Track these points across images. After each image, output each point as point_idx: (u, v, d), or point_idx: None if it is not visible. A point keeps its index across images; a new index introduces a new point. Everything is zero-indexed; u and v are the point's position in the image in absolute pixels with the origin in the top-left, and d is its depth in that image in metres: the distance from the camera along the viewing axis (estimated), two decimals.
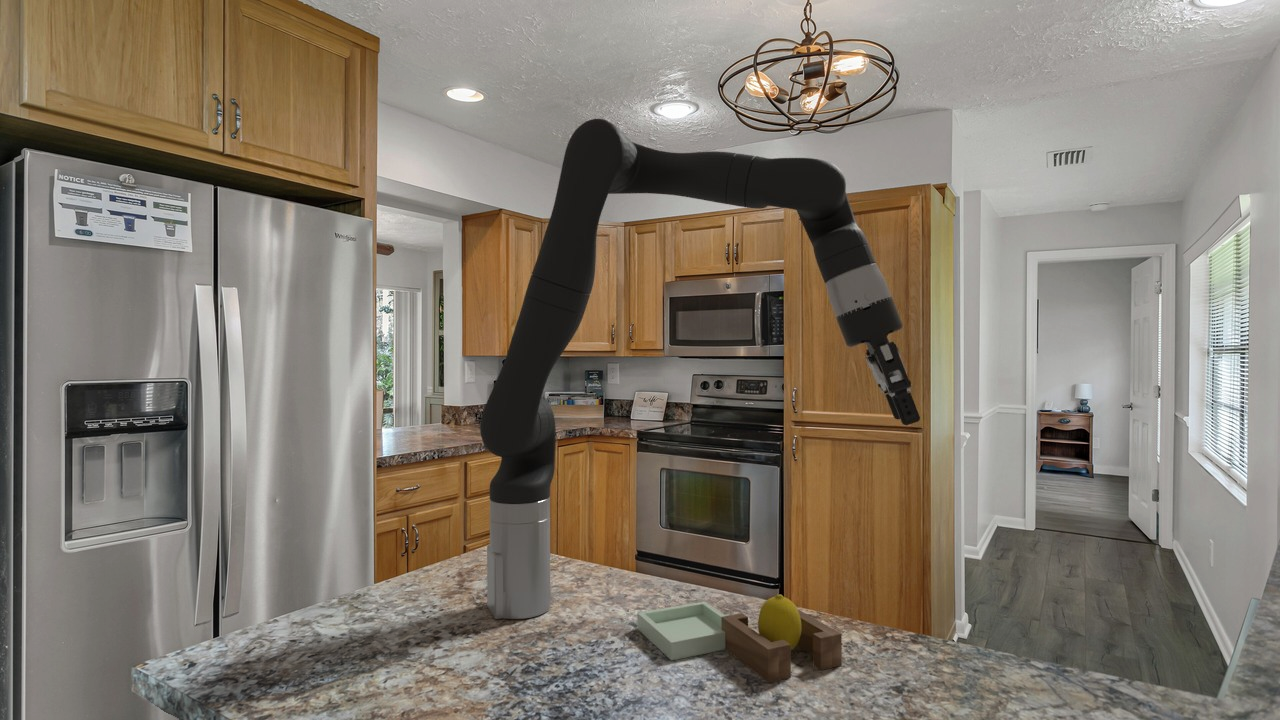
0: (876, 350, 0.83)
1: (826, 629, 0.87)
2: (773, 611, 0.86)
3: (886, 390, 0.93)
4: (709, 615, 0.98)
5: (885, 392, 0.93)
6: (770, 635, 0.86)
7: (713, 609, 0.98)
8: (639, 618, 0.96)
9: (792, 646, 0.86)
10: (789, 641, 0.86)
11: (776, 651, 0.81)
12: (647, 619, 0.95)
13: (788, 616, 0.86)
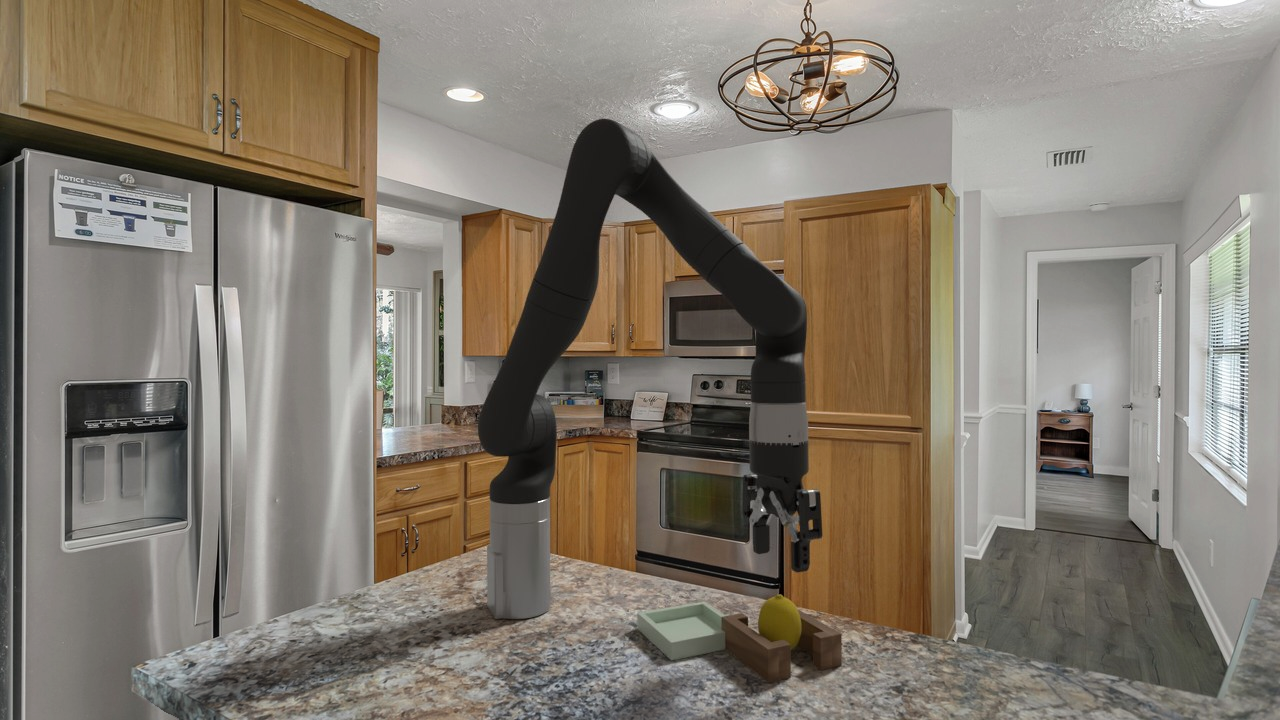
0: (805, 494, 0.81)
1: (826, 629, 0.87)
2: (773, 611, 0.86)
3: (757, 522, 0.91)
4: (709, 615, 0.98)
5: (755, 524, 0.92)
6: (770, 635, 0.86)
7: (713, 609, 0.98)
8: (639, 618, 0.96)
9: (792, 646, 0.86)
10: (789, 641, 0.86)
11: (776, 651, 0.81)
12: (647, 619, 0.95)
13: (788, 616, 0.86)
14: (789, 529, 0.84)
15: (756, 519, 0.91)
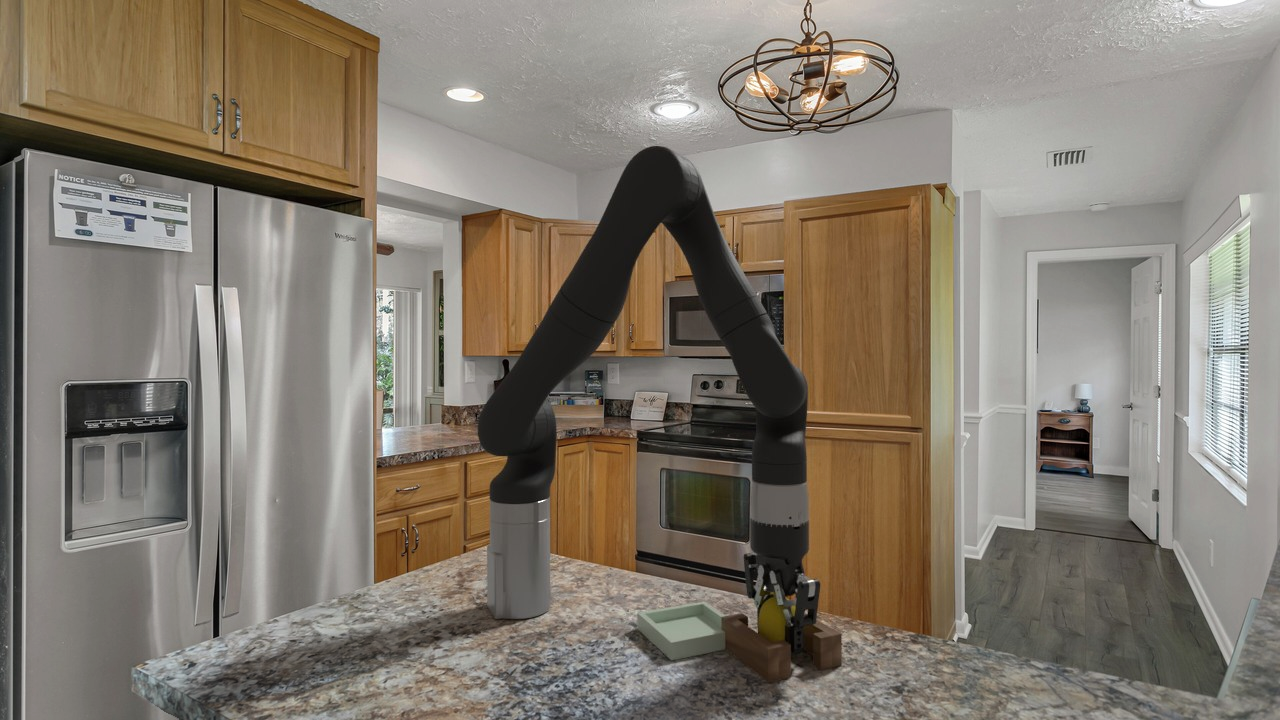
0: (805, 586, 0.82)
1: (826, 629, 0.87)
2: (773, 611, 0.86)
3: (761, 605, 0.91)
4: (709, 615, 0.98)
5: (759, 606, 0.91)
6: (770, 635, 0.86)
7: (713, 609, 0.98)
8: (639, 618, 0.96)
9: None
10: None
11: (776, 651, 0.81)
12: (647, 619, 0.95)
13: None
14: (784, 612, 0.85)
15: (760, 600, 0.90)
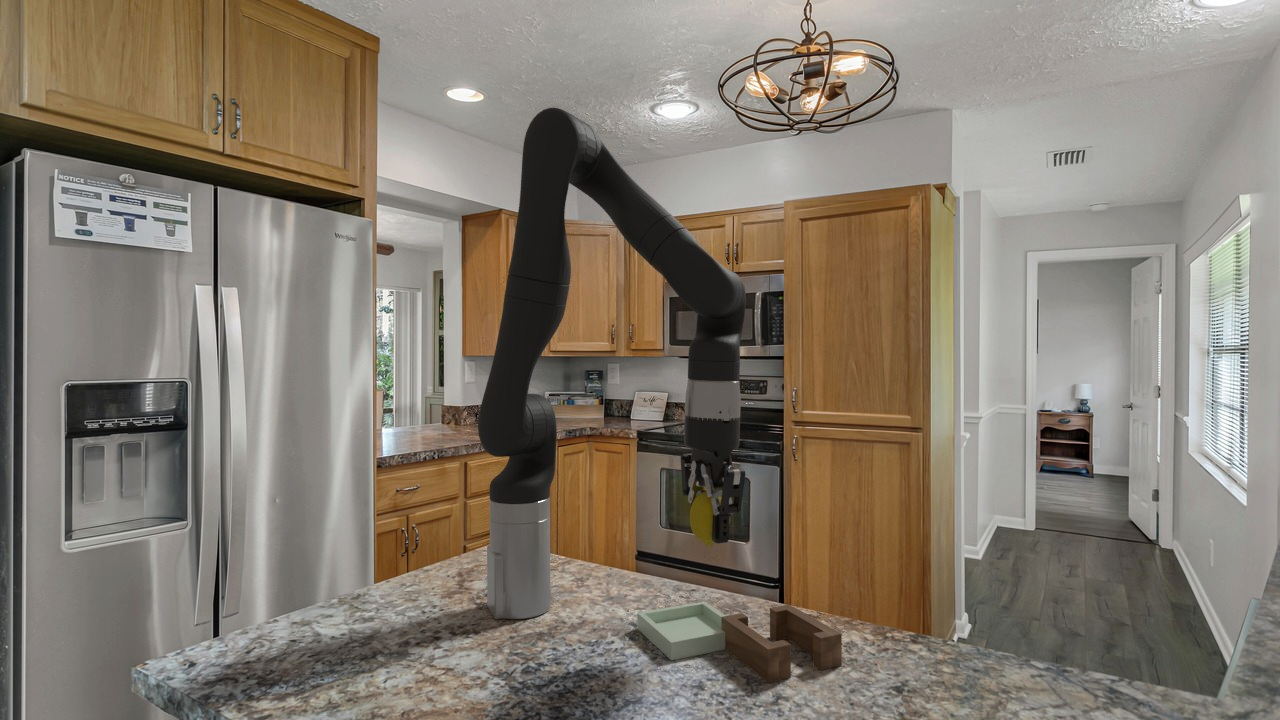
0: (730, 474, 0.86)
1: (826, 629, 0.87)
2: (703, 502, 0.91)
3: None
4: (709, 615, 0.98)
5: (692, 502, 0.95)
6: (699, 524, 0.91)
7: (713, 609, 0.98)
8: (639, 618, 0.96)
9: None
10: None
11: (776, 651, 0.81)
12: (647, 619, 0.95)
13: None
14: (712, 502, 0.90)
15: (693, 495, 0.95)
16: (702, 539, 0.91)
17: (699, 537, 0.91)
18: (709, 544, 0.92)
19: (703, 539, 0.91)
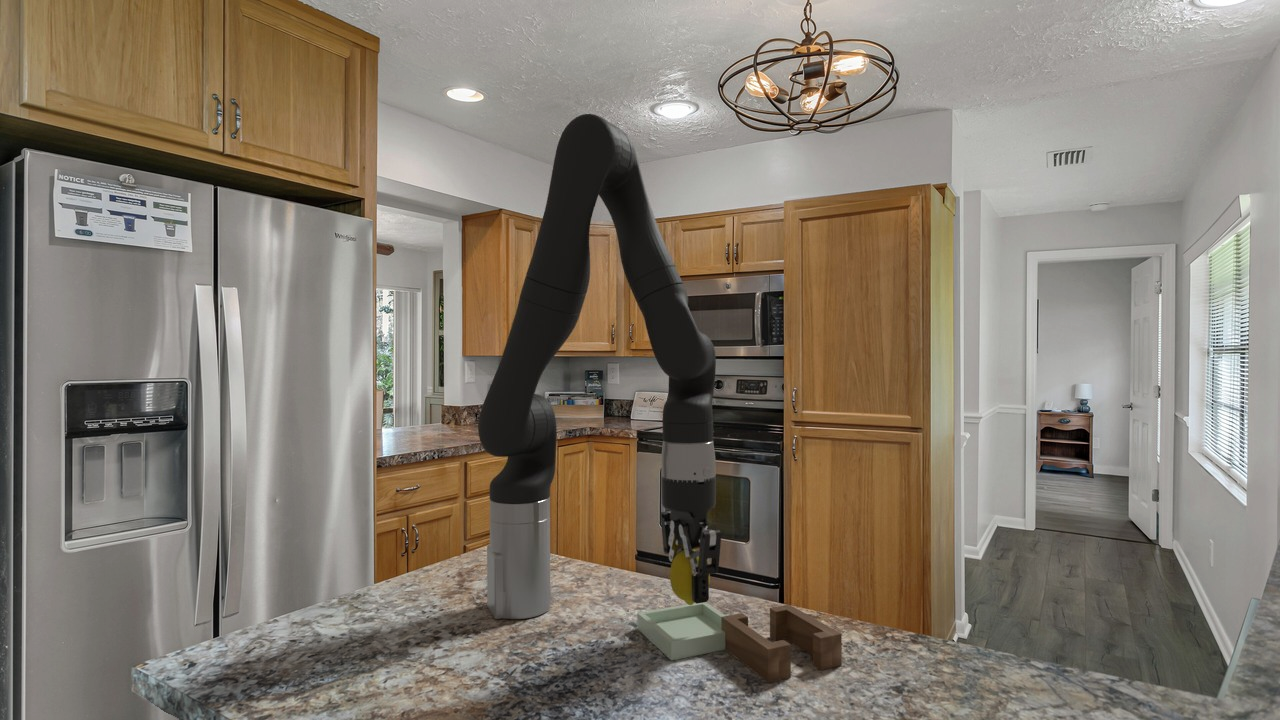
0: (706, 536, 0.87)
1: (826, 629, 0.87)
2: (682, 562, 0.92)
3: None
4: (709, 615, 0.98)
5: None
6: (678, 584, 0.92)
7: (713, 609, 0.98)
8: (639, 618, 0.96)
9: None
10: None
11: (776, 651, 0.81)
12: (647, 619, 0.95)
13: None
14: (691, 562, 0.91)
15: (673, 554, 0.96)
16: (682, 599, 0.93)
17: (679, 597, 0.93)
18: (690, 603, 0.93)
19: (683, 599, 0.92)
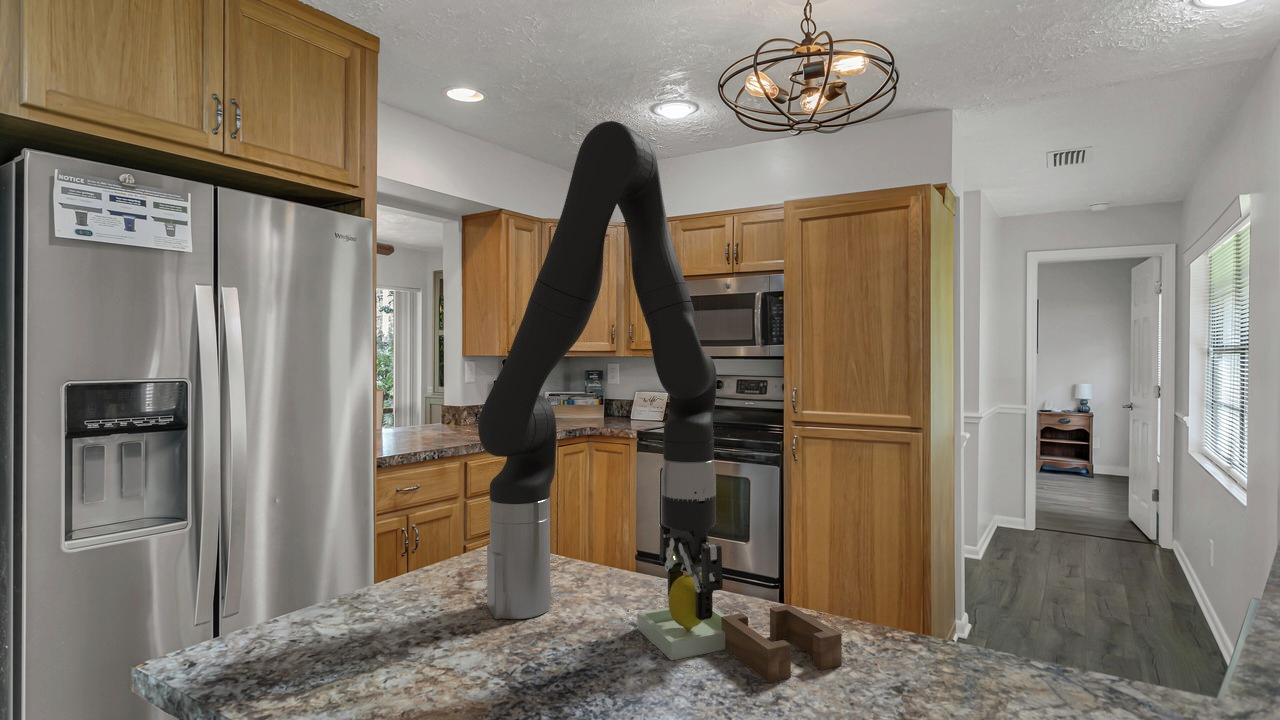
0: (706, 549, 0.87)
1: (826, 629, 0.87)
2: (681, 589, 0.93)
3: (671, 569, 0.98)
4: None
5: (669, 570, 0.98)
6: (677, 611, 0.92)
7: (713, 609, 0.98)
8: (639, 618, 0.96)
9: (698, 621, 0.92)
10: (695, 616, 0.92)
11: (776, 651, 0.81)
12: (647, 619, 0.95)
13: (694, 593, 0.92)
14: (694, 579, 0.90)
15: (670, 566, 0.97)
16: (681, 624, 0.93)
17: (678, 622, 0.93)
18: (688, 629, 0.94)
19: (682, 624, 0.93)
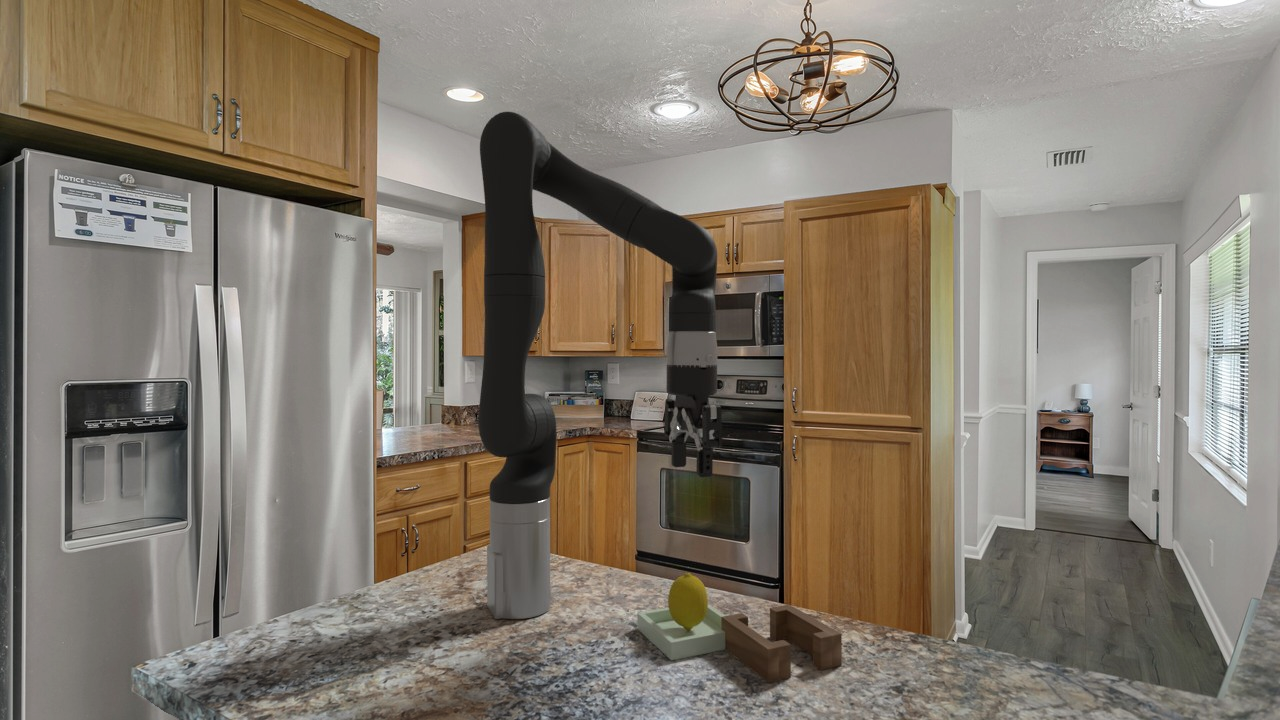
0: (706, 408, 0.94)
1: (826, 629, 0.87)
2: (681, 588, 0.93)
3: (674, 439, 1.04)
4: (709, 615, 0.98)
5: (673, 441, 1.04)
6: (677, 611, 0.92)
7: (713, 609, 0.98)
8: (639, 618, 0.96)
9: (698, 621, 0.92)
10: (694, 616, 0.92)
11: (776, 651, 0.81)
12: (647, 619, 0.95)
13: (694, 592, 0.92)
14: (695, 440, 0.97)
15: (674, 436, 1.04)
16: (681, 624, 0.93)
17: (678, 622, 0.93)
18: (688, 629, 0.94)
19: (682, 624, 0.93)
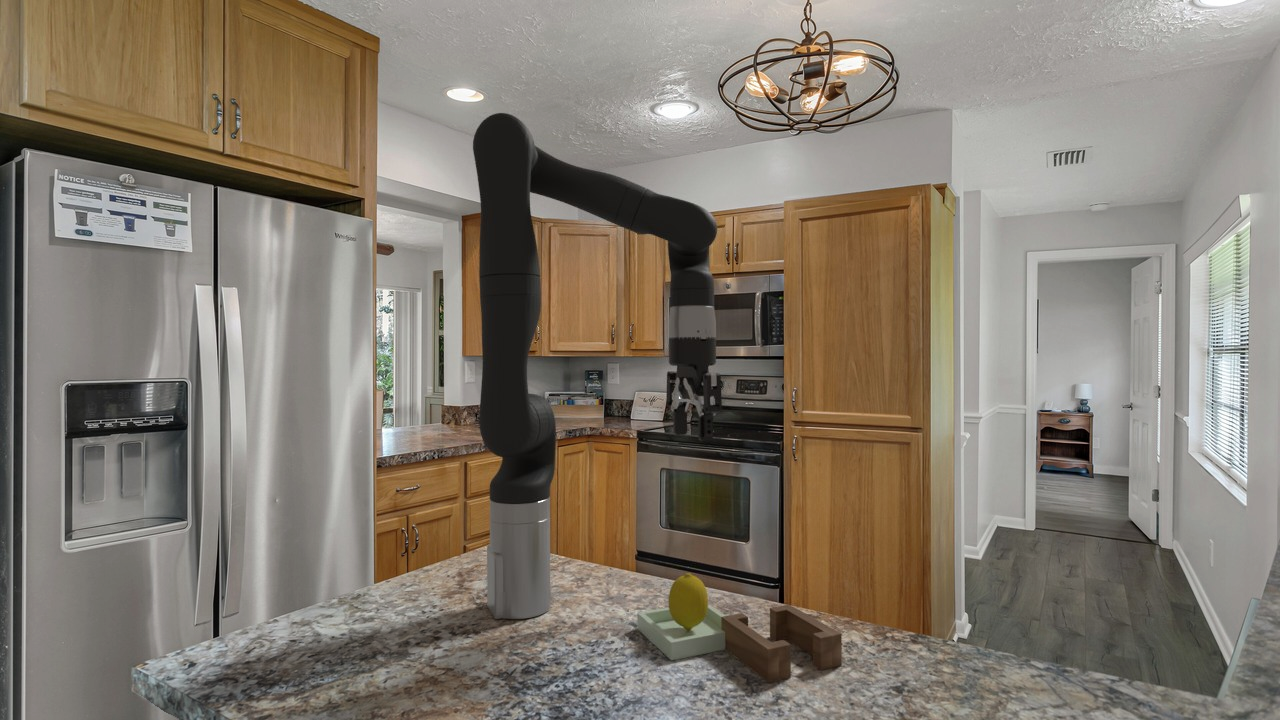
0: (707, 375, 1.01)
1: (826, 629, 0.87)
2: (681, 588, 0.93)
3: (676, 409, 1.11)
4: (709, 615, 0.98)
5: (675, 410, 1.11)
6: (677, 611, 0.92)
7: (713, 609, 0.98)
8: (639, 618, 0.96)
9: (698, 621, 0.92)
10: (695, 616, 0.92)
11: (776, 651, 0.81)
12: (647, 619, 0.95)
13: (694, 592, 0.92)
14: (697, 406, 1.04)
15: (675, 406, 1.11)
16: (681, 624, 0.93)
17: (678, 622, 0.93)
18: (688, 629, 0.94)
19: (682, 624, 0.93)
